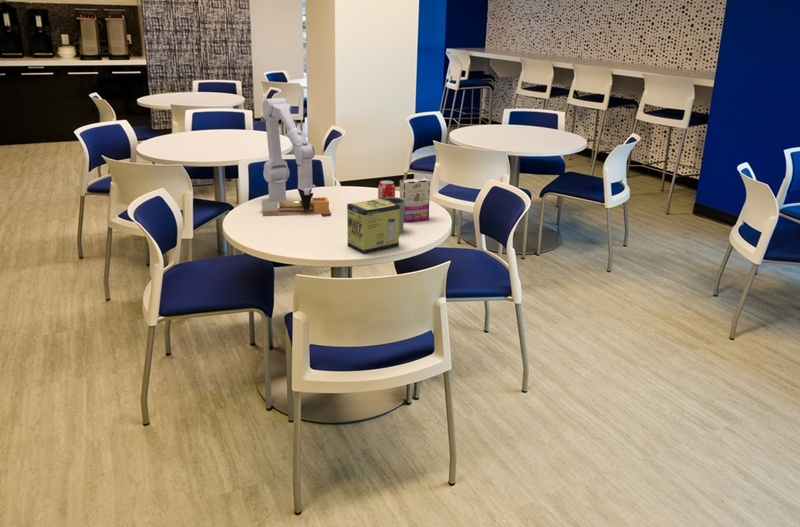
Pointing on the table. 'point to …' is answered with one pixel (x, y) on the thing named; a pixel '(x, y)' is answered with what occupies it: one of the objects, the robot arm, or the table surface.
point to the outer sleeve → (269, 206)
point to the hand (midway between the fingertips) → (305, 207)
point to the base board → (296, 212)
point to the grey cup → (401, 213)
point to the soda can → (386, 189)
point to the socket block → (321, 204)
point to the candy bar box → (415, 199)
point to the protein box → (373, 225)
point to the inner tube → (294, 204)
